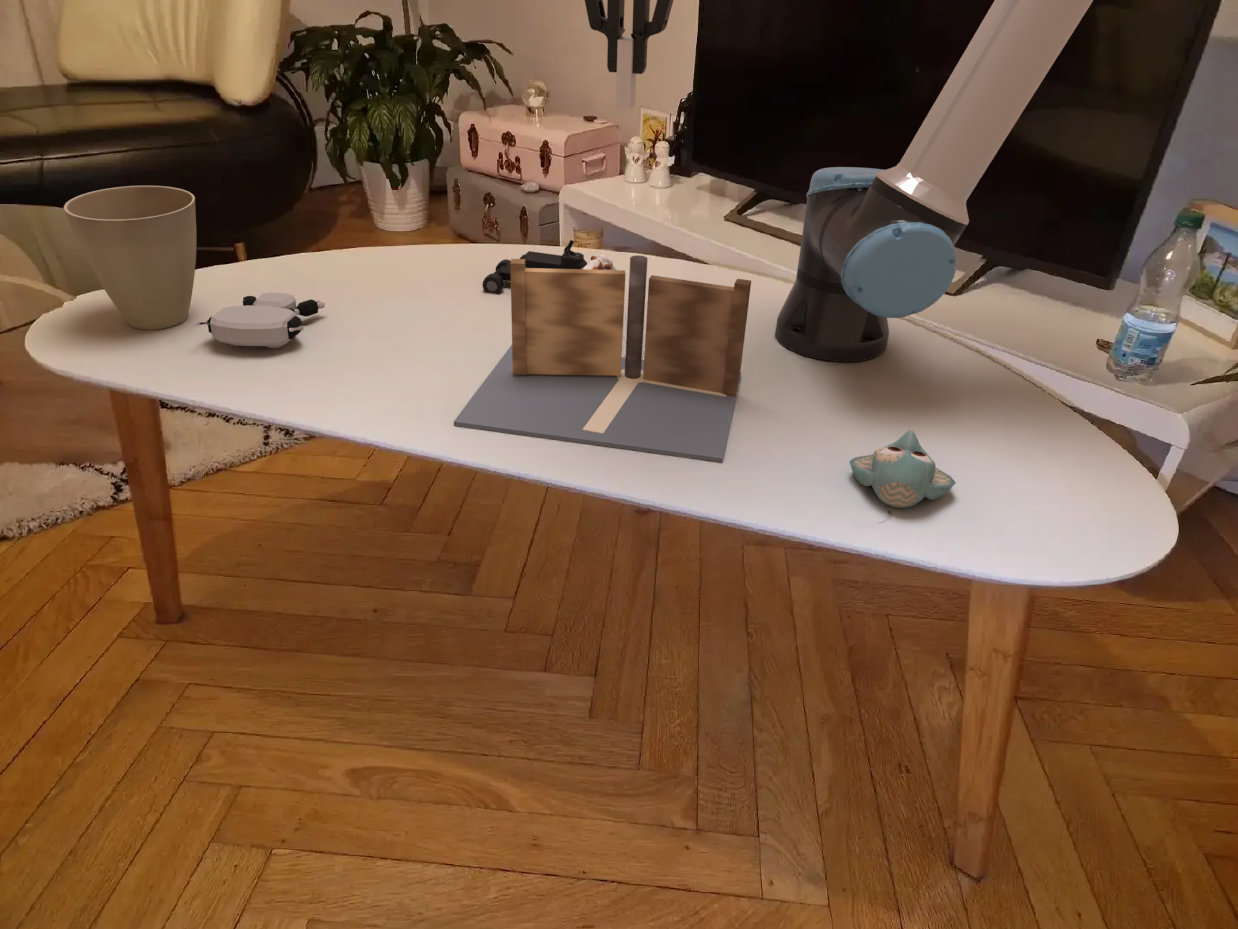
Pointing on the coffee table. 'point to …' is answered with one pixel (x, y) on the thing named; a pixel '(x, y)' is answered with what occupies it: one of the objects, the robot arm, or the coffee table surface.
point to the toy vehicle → (533, 266)
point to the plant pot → (140, 249)
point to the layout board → (602, 411)
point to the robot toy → (261, 320)
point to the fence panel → (566, 320)
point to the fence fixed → (686, 331)
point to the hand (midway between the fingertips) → (625, 106)
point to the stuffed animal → (902, 473)
